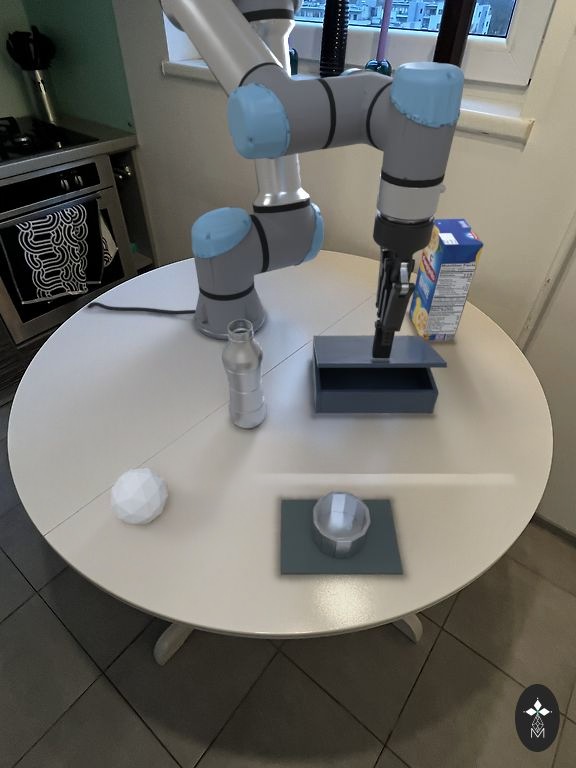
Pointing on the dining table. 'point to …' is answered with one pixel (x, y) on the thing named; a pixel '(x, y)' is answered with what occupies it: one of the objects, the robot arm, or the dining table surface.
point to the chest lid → (360, 353)
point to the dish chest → (373, 389)
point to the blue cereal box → (444, 279)
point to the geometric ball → (138, 496)
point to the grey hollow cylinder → (340, 524)
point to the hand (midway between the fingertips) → (380, 355)
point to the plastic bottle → (244, 375)
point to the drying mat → (308, 559)
